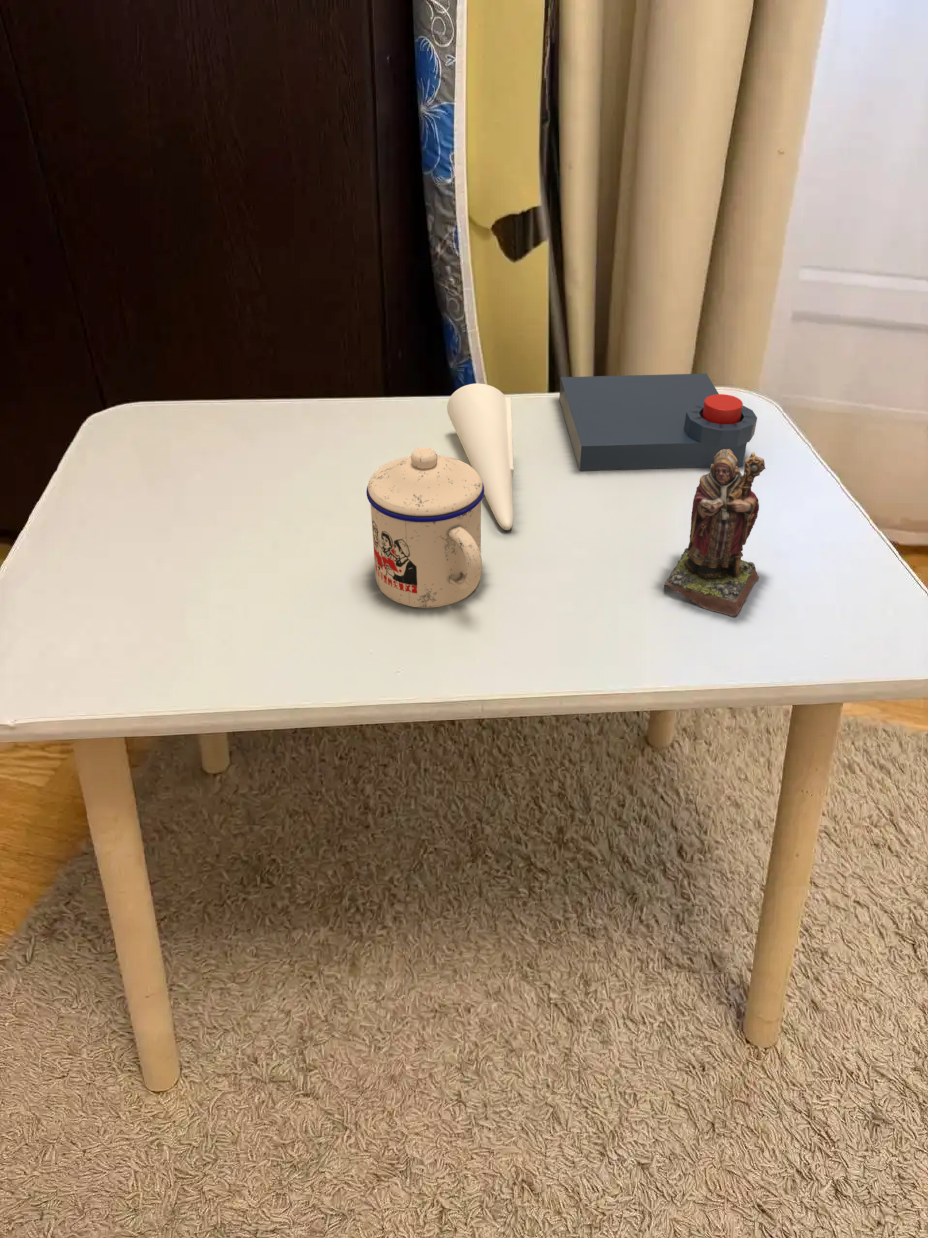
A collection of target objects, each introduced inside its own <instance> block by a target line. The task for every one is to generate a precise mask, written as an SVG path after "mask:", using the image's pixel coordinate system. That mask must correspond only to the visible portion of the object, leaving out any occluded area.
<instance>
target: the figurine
mask: <svg viewBox="0 0 928 1238" xmlns="http://www.w3.org/2000/svg"><path fill="white" fill-rule="evenodd" d="M736 465H737V458H736V457H735V455H734V454H733V452H732V451H731V450H730V449H728V450H726V449H723V450H720V451H719V452H718V453H717V454H716V456H714V464H711V466H710V467H709V472H708V473H706V474H703V475H701V476H700V478H699V484H698V486H697V487H696V490H695V494H694V497H693V500H692V509H691V515H690V516H691V517H690V518H691V519H690V530H689V531H690V533H689V543H688V546H687V547H686V548H684V551H683V553H682V554H680V555H681V557H680V559H679V560H678V561H677V564H676V566H675V567H674V568H673V569H672V571H671V572H670V574H669V577H668V578H667V579H666V581H664V584H663V587H664V588H666V586H668V588H670V589H671V590H674V592H676V593H680V595H681V596H684V598H685V599H687V600H689V601H690V602H693V603H695V605H697V606H699V607H700V608H702V609H705V610H710V611H712V612H717V613H721V614H725V615H728V616H731V617H737V616H738V614H739V612H740V611H741V609H742V608H743V605H744V604H745V601H748V596H749V594H750V592H751V590H752V588H753V586H754V584H755V583H756V582H757V580H759V579H760V576H759V575H758V572H757V569H756V564H755V563H754V562H753V561H746V560H743V559H742V558H743V556H744V554H743V551H744V546H745V545H746V543H747V540H748V538H749V537H750V535H751V532H752V529H753V528H754V526H755V524H756V520H757V519H758V514H759V511H760V503H759V498H758V496H757V495H756V493H755V492H754V491H752V486H753V483H754V481H755V478H756V477H759V476H761V473H762V472H763V471H764V470H766V469H767V467H766V466H765V465H766V464H765V459H764V458H763V457H761V456H757V455H756V453H755V451H753V452H751V453H750V455H749V457H747V458H746V459H744V464H743V474H742V473H741V470H740V468H739V466H736Z"/></svg>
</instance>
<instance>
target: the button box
mask: <svg viewBox="0 0 928 1238" xmlns="http://www.w3.org/2000/svg"><path fill="white" fill-rule="evenodd" d="M559 381H560V382H559V397H558V399H559V401H558V402H559V404H560V407H561V411H562V415H563V417H564V422H565V424H566V428H567V432H568V435H569V439H570V442H571V445H572V449H573V452H574V455H575V459H576V463H577V466H578V469H579V471H580V472H581V471H583V472H584V471H614V470H615V471H616V470H617V471H618V470H649V469H652V470H653V469H655V470H656V469H685V468H686V469H688V468H710V466H711V464H714V456H716V454H717V453H718V452H719V451H720V450H723V449H726V450H728V449H730V450H731V451H732V452H733V454H734V455H735V457H736V458H737V465H736V466H738V467H744V462H745V455H746V449H747V444H748V443H750V442H751V440H752V439H753V437H754V436H755V433H756V427H757V422H758V417H757V415H756V413H755V412H754V410H753V409H751V408H749V407H747V406H745V405H743V407H742V412H741V418H740V422H738V423H735V424H717V423H712V422H709V421H707V420H705V419H703V418H702V414H703V407H704V401H705V399H706V398H707V397H708V396H711V395H715V394H720V393H719V391H718V390H717V388H716V386H715V384H714V383H713V381H712V379H711V378H710V377H709V374H708V373H674V374H671V373H670V374H636V375H635V374H634V375H597V376H596V375H594V376H593V375H592V376H591V375H590V376H589V375H588V376H560V379H559Z"/></svg>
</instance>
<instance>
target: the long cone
mask: <svg viewBox="0 0 928 1238" xmlns="http://www.w3.org/2000/svg"><path fill="white" fill-rule="evenodd" d="M446 412H447V415H448V417H449V419H450V420H449V421H450V422H451V424H452V427H453V429H454V431H455V433H456V435H457V437H458V439H459V441H460V444H461V446H462V449H463V450H464V452H465V455H466V457H467V459H468V461H469V463H470V464H469V465H470V466H471V467H472V468H473V469H475V470H476V472H477V473H478V474H479V476H480V477H481V480H482V482H483V485H484V495H483V496H484V497H485V499H486V501H487V504H488V506H489V508H490V510H491V512H492V514H493V517H494V519H495V520H496V522H497V524H498V525H499V526H500V528H501V529H502V530H504V531H510V530H511V529H512V527H513V523H514V492H513V491H514V490H513V475H514V470H515V469H514V468H515V467H514V441H513V413H512V412H513V411H512V396H507V395H505V394H504V393H503V392H502V391H501V390H500V389H498V388H496V387H495V386H493V385H489V384H486V383H469V384H466V385H463V386H461V387H459V388H458V389H456V390H455V391H454V392H453V393H452V394H451V395H450V397H449V398H448V401H447V404H446Z"/></svg>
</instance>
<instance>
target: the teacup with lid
mask: <svg viewBox="0 0 928 1238" xmlns="http://www.w3.org/2000/svg"><path fill="white" fill-rule="evenodd" d="M484 496H485V495H484V485H483V482H482V480H481V477H480V476H479V474H478V473H477V472H476V470H475V469H473V468H472V466H471V464H468V463H466V462H464V461H462V460H459V459H457V458H454V457H451V456H445V455H438V453H437V452H436V451H435V449H433V448H430V447H418V448H416V449H414V450H413V451H412V453H411V455H409V456H404V457H400V458H396V459H394V460H391V461H389V462H386V463H385V464H383V465H382V466H380V467H378V469H377V470H375V472H374V473H373V474H372V475H371V477H370V478H369V480H368V484H367V486H366V498H367V501H368V502H369V504H370V516H371V530H372V531H371V532H372V543H373V544H372V545H373V557H374V559H373V560H374V571H375V572H374V573H375V581H376V584H377V586H378V588H379V590H380V591H381V592H382V594H384V595H385V596H386V597H387V598H389V599H390V600H392V601H394V602H396V603H398V604H401V605H404V606H408V607H413V608H423V609H424V608H425V609H426V608H429V609H430V608H431V609H432V608H441V607H446V606H448V605H449V606H450V605H452V604H456V603H457V602H460V601H462V600H463V599H465V598H467V597H468V596H469V595H471V594H472V593H473V592H474V591H475V590H476V589H477V587H478V586H479V583H480V580H481V577H482V573H483V559H482V500H483V498H484Z"/></svg>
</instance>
